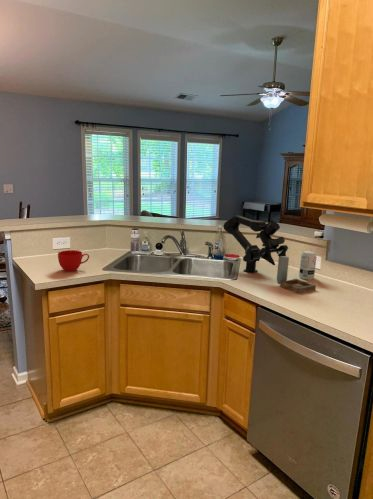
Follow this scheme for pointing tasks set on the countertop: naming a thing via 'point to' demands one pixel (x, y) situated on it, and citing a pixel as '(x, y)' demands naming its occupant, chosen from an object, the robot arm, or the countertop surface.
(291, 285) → the walnut tray
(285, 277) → the slate part
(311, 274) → the supplement can
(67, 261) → the ceramic cup
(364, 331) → the countertop surface
